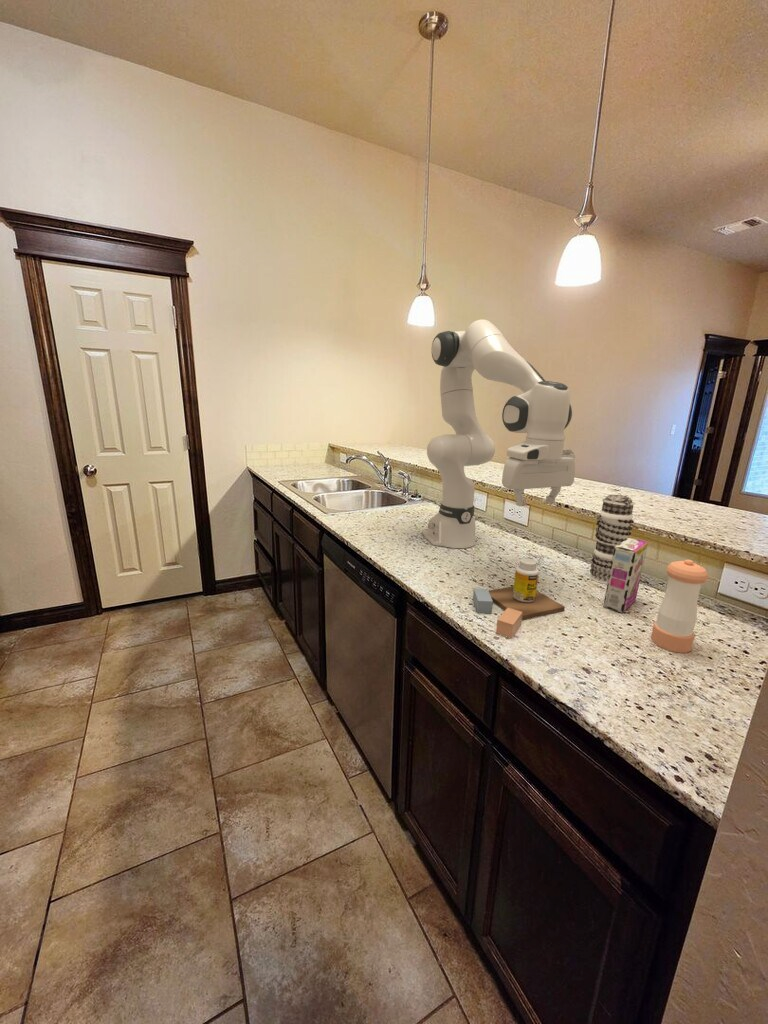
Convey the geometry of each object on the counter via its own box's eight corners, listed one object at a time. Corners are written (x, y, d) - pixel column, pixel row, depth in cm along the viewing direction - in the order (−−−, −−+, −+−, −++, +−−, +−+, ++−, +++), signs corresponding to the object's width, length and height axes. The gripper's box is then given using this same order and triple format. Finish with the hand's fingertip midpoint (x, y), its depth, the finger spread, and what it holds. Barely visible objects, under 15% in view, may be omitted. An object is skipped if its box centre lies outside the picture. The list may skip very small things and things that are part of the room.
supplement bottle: (525, 605, 102) (530, 566, 99) (507, 596, 106) (511, 559, 103) (539, 599, 105) (544, 562, 102) (521, 591, 109) (526, 555, 106)
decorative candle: (622, 576, 123) (637, 495, 117) (623, 588, 116) (639, 501, 109) (588, 570, 128) (601, 491, 121) (587, 580, 120) (600, 497, 113)
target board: (483, 595, 109) (483, 591, 109) (525, 587, 114) (525, 583, 114) (518, 621, 97) (519, 616, 96) (564, 611, 102) (564, 606, 101)
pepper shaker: (683, 657, 84) (704, 569, 79) (644, 640, 90) (662, 558, 85) (696, 645, 88) (717, 562, 83) (659, 630, 94) (676, 551, 89)
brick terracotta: (506, 621, 97) (507, 607, 96) (521, 625, 95) (522, 611, 94) (495, 633, 91) (497, 619, 90) (511, 639, 89) (513, 624, 88)
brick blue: (472, 600, 107) (473, 588, 106) (486, 601, 106) (487, 588, 106) (477, 613, 100) (478, 600, 99) (491, 614, 100) (492, 601, 99)
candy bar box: (624, 614, 101) (636, 551, 97) (602, 607, 104) (613, 546, 100) (637, 600, 108) (649, 541, 104) (616, 594, 112) (627, 536, 108)
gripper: (566, 447, 108) (557, 498, 112) (501, 449, 100) (495, 503, 104) (585, 451, 102) (576, 504, 106) (518, 453, 95) (511, 510, 99)
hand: (535, 504), depth 105 cm, fingers open, 8 cm apart
